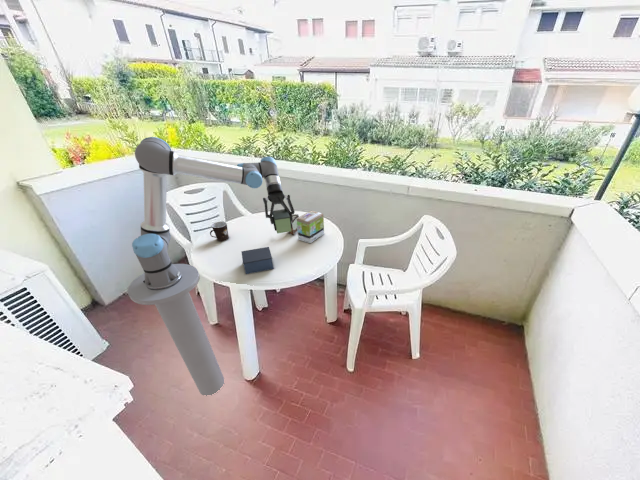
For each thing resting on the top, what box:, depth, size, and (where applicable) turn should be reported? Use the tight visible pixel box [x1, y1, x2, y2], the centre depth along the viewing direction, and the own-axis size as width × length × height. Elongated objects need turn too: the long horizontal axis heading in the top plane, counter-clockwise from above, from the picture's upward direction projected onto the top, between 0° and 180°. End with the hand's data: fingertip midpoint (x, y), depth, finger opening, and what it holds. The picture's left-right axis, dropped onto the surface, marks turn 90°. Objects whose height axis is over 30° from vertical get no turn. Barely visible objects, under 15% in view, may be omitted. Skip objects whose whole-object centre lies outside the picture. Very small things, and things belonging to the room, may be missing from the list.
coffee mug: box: [209, 221, 230, 242], centre depth 173 cm, size 12×9×10 cm
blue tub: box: [240, 246, 274, 275], centre depth 150 cm, size 14×12×7 cm
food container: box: [288, 213, 300, 236], centre depth 183 cm, size 12×6×10 cm, turn 168°
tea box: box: [297, 210, 325, 244], centre depth 176 cm, size 15×10×15 cm
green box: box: [272, 208, 291, 234], centre depth 142 cm, size 7×10×8 cm
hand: (283, 228), depth 141 cm, fingers closed on green box, 7 cm apart
